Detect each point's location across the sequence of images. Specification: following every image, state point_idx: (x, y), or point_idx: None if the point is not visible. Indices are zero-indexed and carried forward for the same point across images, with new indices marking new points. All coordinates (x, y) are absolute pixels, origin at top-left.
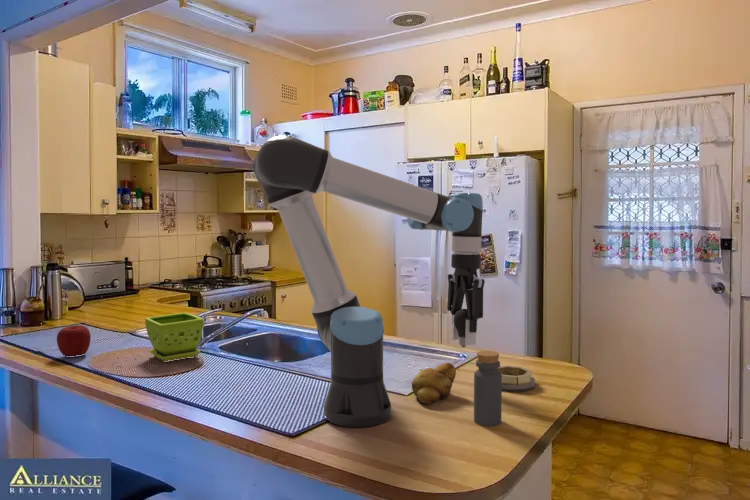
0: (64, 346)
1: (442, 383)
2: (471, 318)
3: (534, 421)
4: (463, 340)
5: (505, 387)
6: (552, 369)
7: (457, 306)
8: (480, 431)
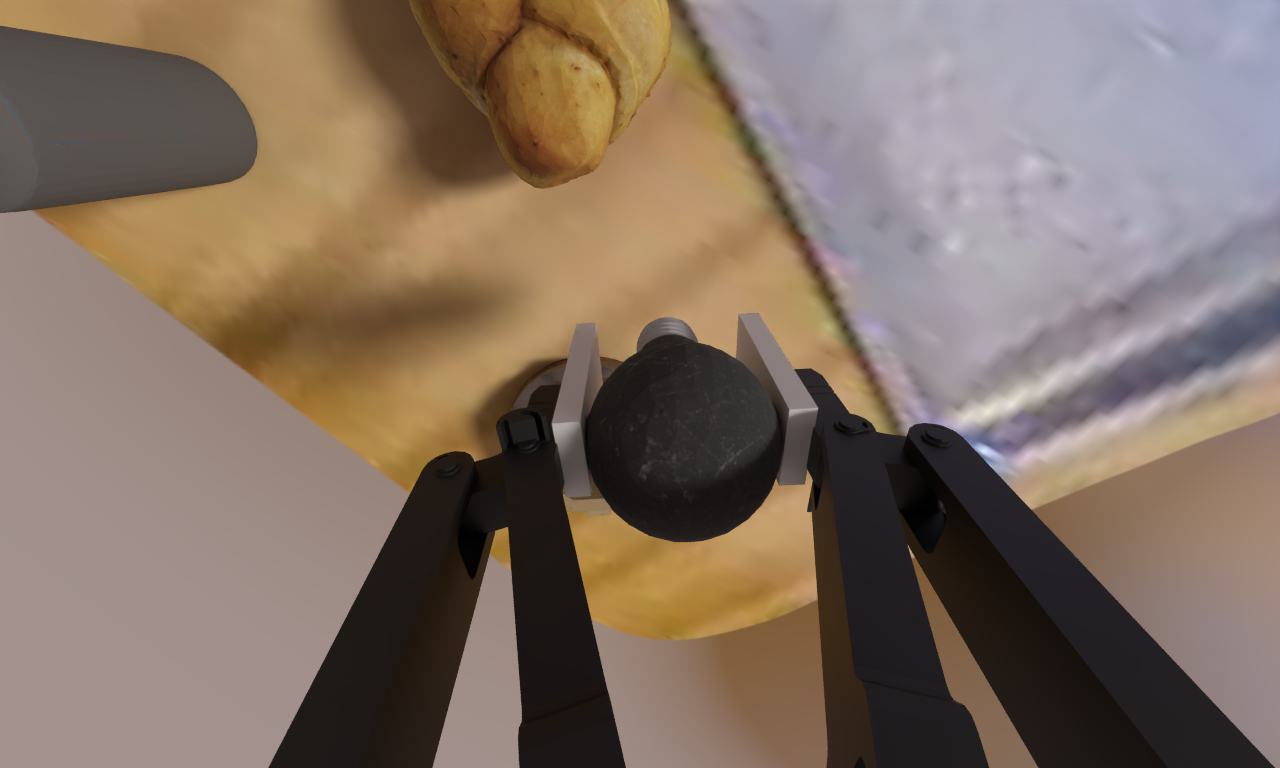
0: None
1: (418, 22)
2: (506, 449)
3: (210, 296)
4: (643, 342)
5: (530, 381)
6: (678, 588)
7: (823, 505)
8: (66, 17)
